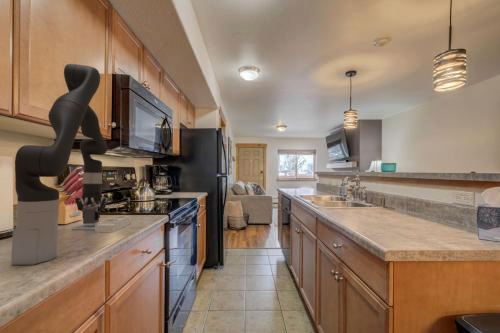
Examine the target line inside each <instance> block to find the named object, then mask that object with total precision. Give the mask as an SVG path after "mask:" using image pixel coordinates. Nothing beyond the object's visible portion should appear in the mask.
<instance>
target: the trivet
mask: <svg viewBox="0 0 500 333" xmlns="http://www.w3.org/2000/svg"><path fill="white" fill-rule="evenodd" d="M97 224H98V223H94V224H82V225H79V226H76V227H73V228H72V231H95V225H97Z"/></svg>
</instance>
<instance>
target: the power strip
mask: <svg viewBox="0 0 500 333" xmlns="http://www.w3.org/2000/svg"><path fill="white" fill-rule="evenodd" d="M96 224H97V225H95V230H94V233H115V232H117V231H119V230H120V229H123V228H124V227H127V226H129V225H131V224H132V217H130V216H129V215H114V216H111V217H109V218H106V219H103V220H99V222H97V223H96Z"/></svg>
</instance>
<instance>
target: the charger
mask: <svg viewBox="0 0 500 333" xmlns="http://www.w3.org/2000/svg"><path fill="white" fill-rule="evenodd" d="M82 217H83V218H82V220H83V221H82V223H83V224H82V225H85V224H98V222H100V218H99V219H98V220H95V209H94V207H93V206H89V207H87V208H85V209H84V214H83V213H82Z"/></svg>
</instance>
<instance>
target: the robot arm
mask: <svg viewBox="0 0 500 333" xmlns="http://www.w3.org/2000/svg"><path fill="white" fill-rule="evenodd" d="M63 77H64V81H65V85H66V87H67V89H68V92H66V93H64V94H62V95H60V96H58V97H57V98H56V100H55V101H54V102H53V103H52V105H51V108H50V110H49V111H48V115H47V116H48V121H49V123H50V126H51V127H52V129H53V131H54V133H55V136H56V137H55V140H54V142H53V143H52V144H51V145H33V144H32V145H31V144H30V145H29V144H28V145H27V144H25V145H23V146H21V147H19V148H18V150H17V151H16V154H15V158H14V176H15V177H14V179H15V180H14V183H15V184H14V187H15V188H14V189H15V193H16V195H17V196H16V197H17V203H16V205H17V207H16V220H15V221H16V222H15V223H16V224H15V228H14V229H13V230H12V240H11V242H12V243H11V261H10V262H11V266H13V265H15V266H18V265H19V266H22V265H23V266H24V265H26V266H27V265H30V266H31V265H34V266H35V265H36V264H40V263H45V262H47V261H50V260H53V259H55V258H56V257H57V255H58V235H59V233H58V232H59V231H58V230H59V228H58V227H59V207H60V191H59V190H58V189H57V188H54V187H50V186H48V185H46V184H44V183H43V182H41V179H40V178H56V177H57V178H58V177H60V176H61V175H63V174H64V172H65V171H66V169H67V167H68V163H69V160H70V157H71V153H72V150H73V146H74V143H75V139H76V137H77V134H78V132H79V130H80V131H81V134H82V136H84V137H85V139H82V140H81V141H80V142H79V149H80V153H81V156H82V161H83V175H82V195H81V196H80V197H75V198H74V200H75V204H76V207H77V210H78V211H79V212H80V211H81V212H82V215H83V214H84V209H85V208H87V207H91V205H92V207H94V209H95V220H98V219H99V220H100V217H101V211H104V210H106V207H107V203H108V201H109V197H104V196H103V195H102V192H103V175H102V174H103V173H102V172H103V162H102V161H101V160H100V159H99V160H98V159H94V158H92V156H91V155H93V156H94V155H97V156H103V155H105V154H106V153H107V151H108V144H107V141H106V139H105V138H104V136H103V134H102V132H101V129H100V121H99V117H98V115H97V114H96V112H95V111H94V109H93V108H92V107H91V106H90V102H91V101H92V99H93V98H94V95H95V94H96V92H97V91H98V90H99V87H100V83H101V74H100V71H99V70H98V69H97V68H96V67H93V66H90V65H82V64H76V63H75V64H74V63H67V64H66V65H65V66H64V68H63ZM82 219H83V216H82Z"/></svg>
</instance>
